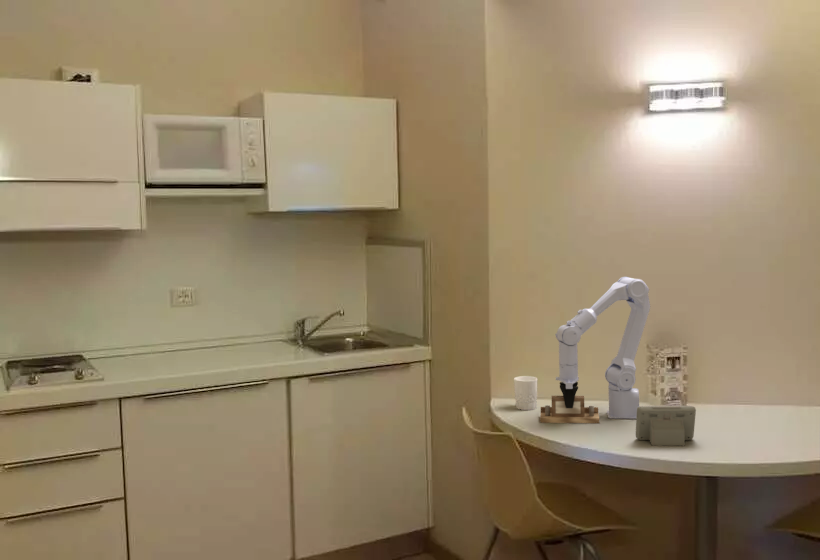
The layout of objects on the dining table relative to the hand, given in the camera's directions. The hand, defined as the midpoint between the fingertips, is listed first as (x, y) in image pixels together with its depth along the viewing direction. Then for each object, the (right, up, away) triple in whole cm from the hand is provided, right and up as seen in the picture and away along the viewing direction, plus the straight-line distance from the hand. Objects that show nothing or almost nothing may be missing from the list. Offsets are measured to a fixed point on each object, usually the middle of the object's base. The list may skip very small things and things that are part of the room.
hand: (569, 406), depth 250 cm
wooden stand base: (0, -4, +1) cm, 4 cm away
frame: (0, -3, 0) cm, 3 cm away
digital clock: (+22, -6, -25) cm, 34 cm away
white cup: (-11, -3, +18) cm, 21 cm away
